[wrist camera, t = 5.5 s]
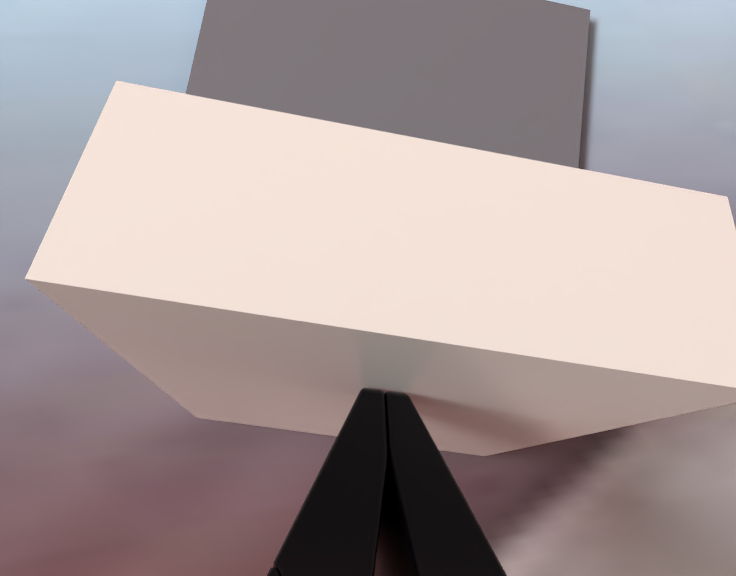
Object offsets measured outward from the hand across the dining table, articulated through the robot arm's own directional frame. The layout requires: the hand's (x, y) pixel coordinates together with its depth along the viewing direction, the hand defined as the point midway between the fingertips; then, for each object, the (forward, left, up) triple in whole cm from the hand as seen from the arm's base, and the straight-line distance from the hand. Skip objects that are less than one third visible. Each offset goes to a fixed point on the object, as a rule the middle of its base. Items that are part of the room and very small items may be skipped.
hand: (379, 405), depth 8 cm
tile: (0, 0, -7) cm, 7 cm away
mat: (+6, -6, -7) cm, 11 cm away
